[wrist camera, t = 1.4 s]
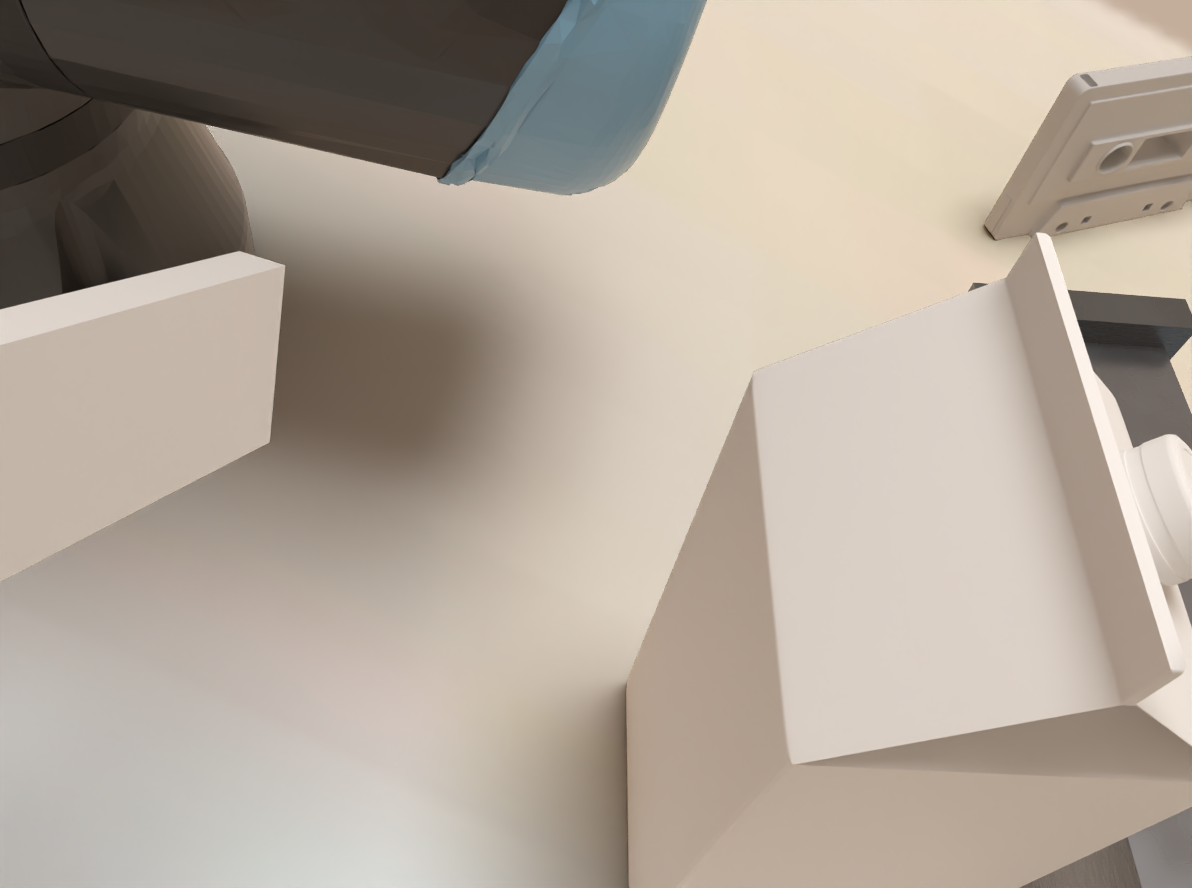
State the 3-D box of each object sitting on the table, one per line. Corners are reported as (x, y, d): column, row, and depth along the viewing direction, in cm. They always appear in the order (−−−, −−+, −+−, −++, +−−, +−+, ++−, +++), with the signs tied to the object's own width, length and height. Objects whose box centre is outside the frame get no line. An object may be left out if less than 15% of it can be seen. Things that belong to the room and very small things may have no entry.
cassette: (997, 251, 45) (1090, 98, 38) (973, 219, 46) (1060, 65, 39) (1216, 205, 48) (1334, 59, 42) (1190, 176, 49) (1302, 29, 43)
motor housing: (892, 415, 39) (973, 282, 33) (1075, 426, 40) (1185, 299, 34) (1058, 1193, 26) (1238, 1196, 20) (1324, 1186, 27) (1569, 1187, 21)
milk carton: (627, 941, 28) (885, 656, 12) (624, 679, 32) (816, 208, 16) (893, 949, 29) (1457, 687, 13) (857, 691, 33) (1257, 252, 17)
